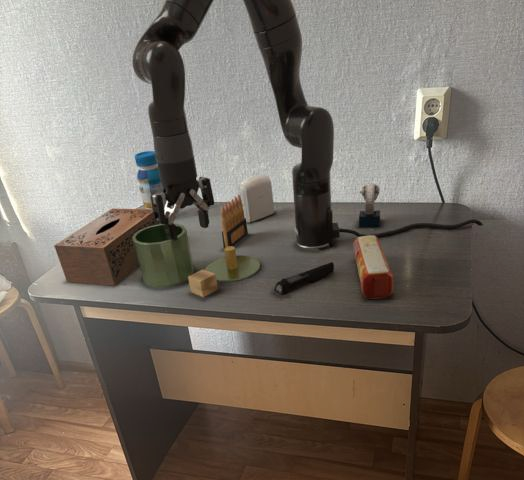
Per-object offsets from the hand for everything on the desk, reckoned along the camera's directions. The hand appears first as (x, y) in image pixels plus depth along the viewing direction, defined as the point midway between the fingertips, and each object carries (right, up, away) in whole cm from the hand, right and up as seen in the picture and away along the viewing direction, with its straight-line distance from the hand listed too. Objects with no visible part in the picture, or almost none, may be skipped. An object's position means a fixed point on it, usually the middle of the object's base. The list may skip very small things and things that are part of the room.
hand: (189, 233), depth 112 cm
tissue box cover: (-23, -2, +27) cm, 35 cm away
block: (+3, -12, +7) cm, 14 cm away
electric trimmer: (+26, -11, +5) cm, 28 cm away
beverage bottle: (-17, +17, +53) cm, 58 cm away
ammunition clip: (+9, +4, +29) cm, 31 cm away
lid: (+9, -6, +14) cm, 17 cm away
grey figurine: (+46, +9, +30) cm, 56 cm away
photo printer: (+15, +15, +44) cm, 49 cm away
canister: (-7, -7, +16) cm, 19 cm away
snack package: (+40, -9, +4) cm, 42 cm away
